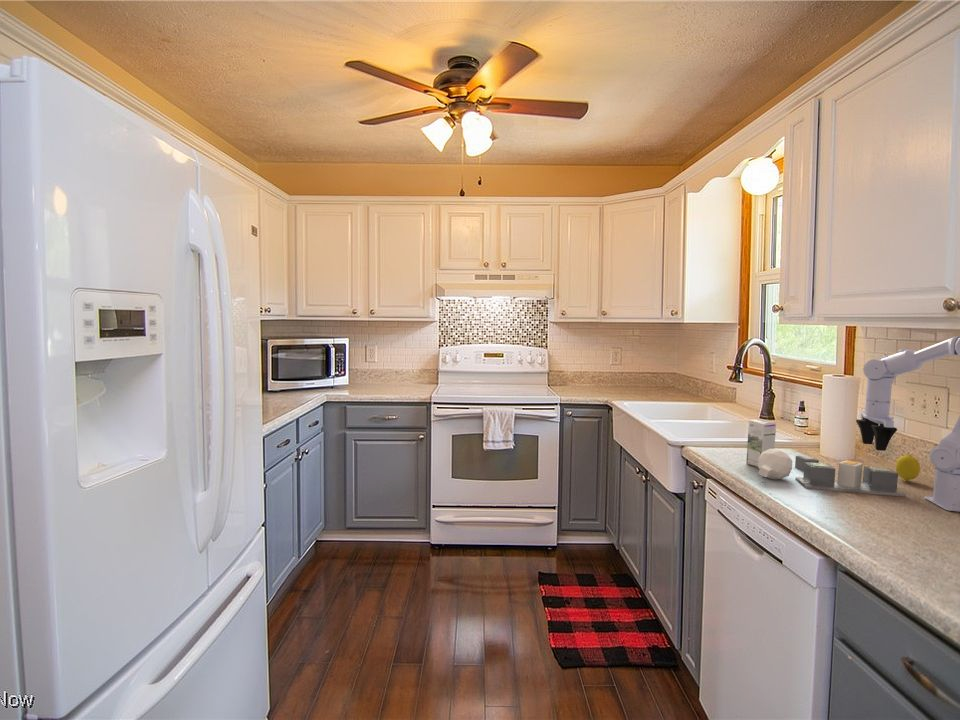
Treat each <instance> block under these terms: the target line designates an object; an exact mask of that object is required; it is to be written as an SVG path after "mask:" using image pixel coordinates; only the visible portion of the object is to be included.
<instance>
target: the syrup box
mask: <svg viewBox="0 0 960 720" xmlns="http://www.w3.org/2000/svg"><path fill="white" fill-rule="evenodd" d="M776 433H777V422H775V421H771V420H765V419H761V418H755V419H749V420H748V429H747V446H746V465H749V466H752V467H755V468H758V459H759V457H760V455H761V453H762V452H764V451H766V450H768V449H776V448H775V446H776Z"/></svg>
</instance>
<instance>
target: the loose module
mask: <svg viewBox="0 0 960 720" xmlns="http://www.w3.org/2000/svg"><path fill="white" fill-rule="evenodd" d="M862 477H863V463H862V462H858V461H853V460H847V459H846V460H843V461H840V462H838V471H837V480H838V481H837V484H840V485H844V486H849V487H853V488H854V487H857V486H859V485H861V482H862Z"/></svg>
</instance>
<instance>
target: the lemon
mask: <svg viewBox="0 0 960 720" xmlns="http://www.w3.org/2000/svg"><path fill="white" fill-rule="evenodd" d="M920 471H921V465H920V461H918V459H917V458H916V457H914V456H912V454H906V455H902V456H900V457H899V458H898V459H897V460H896V463H895V472H897V473H898V477H900V478H901V479H903V480H904V482H909V481H910V480H914V479H916V478H918V476H919V474H920Z"/></svg>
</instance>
